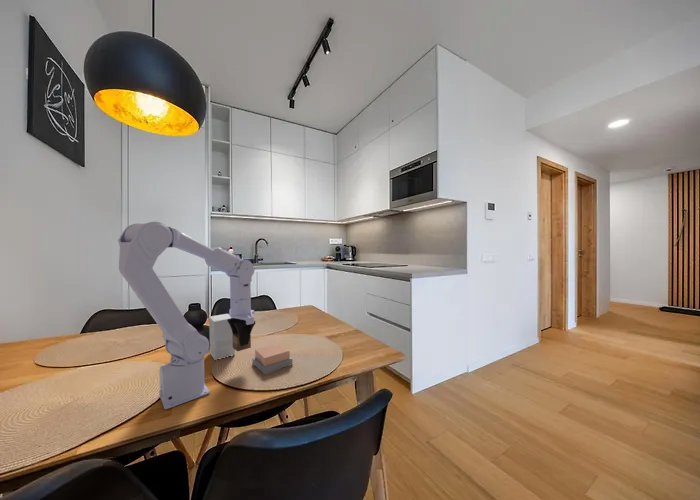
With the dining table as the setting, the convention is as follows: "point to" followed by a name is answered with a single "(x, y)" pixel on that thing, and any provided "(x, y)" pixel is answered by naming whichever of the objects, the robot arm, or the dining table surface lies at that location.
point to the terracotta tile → (272, 354)
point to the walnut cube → (237, 344)
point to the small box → (220, 336)
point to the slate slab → (271, 367)
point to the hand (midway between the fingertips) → (241, 342)
